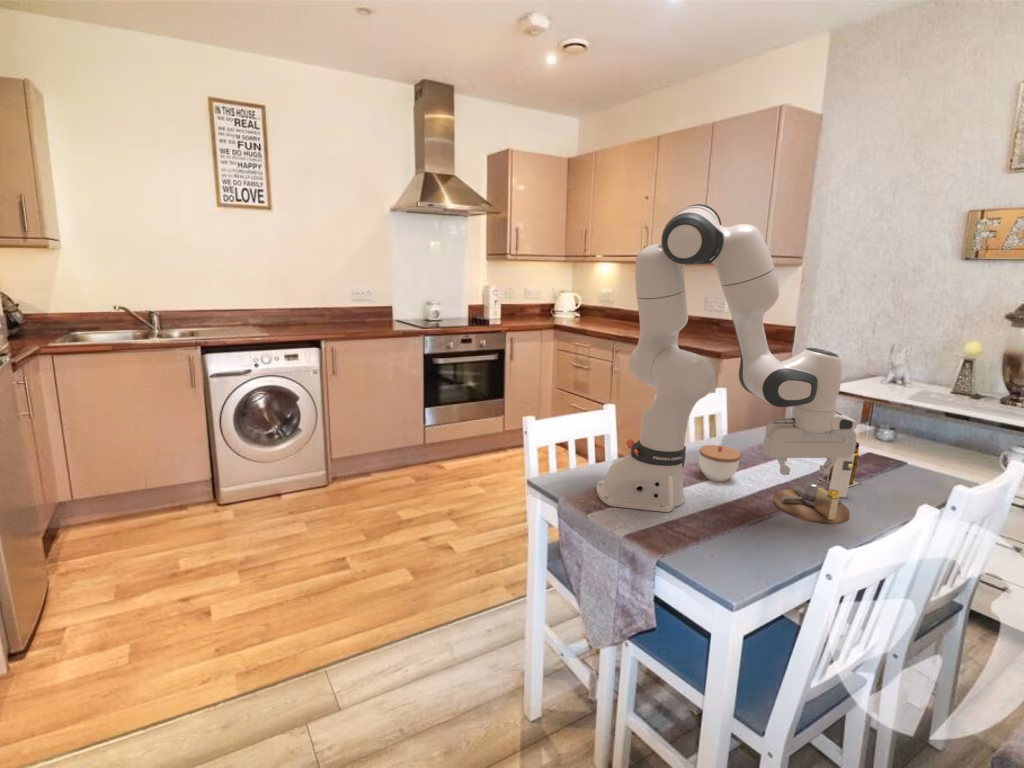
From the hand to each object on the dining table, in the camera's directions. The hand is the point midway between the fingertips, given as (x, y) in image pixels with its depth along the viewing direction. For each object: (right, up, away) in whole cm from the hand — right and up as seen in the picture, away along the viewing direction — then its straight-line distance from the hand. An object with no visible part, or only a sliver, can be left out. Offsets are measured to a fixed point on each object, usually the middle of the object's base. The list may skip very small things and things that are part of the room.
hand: (804, 473), depth 130 cm
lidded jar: (-11, -5, +26) cm, 29 cm away
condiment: (+24, -7, +26) cm, 36 cm away
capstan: (+6, -9, +8) cm, 14 cm away
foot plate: (+6, -10, +9) cm, 15 cm away
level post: (+18, -8, +17) cm, 26 cm away
